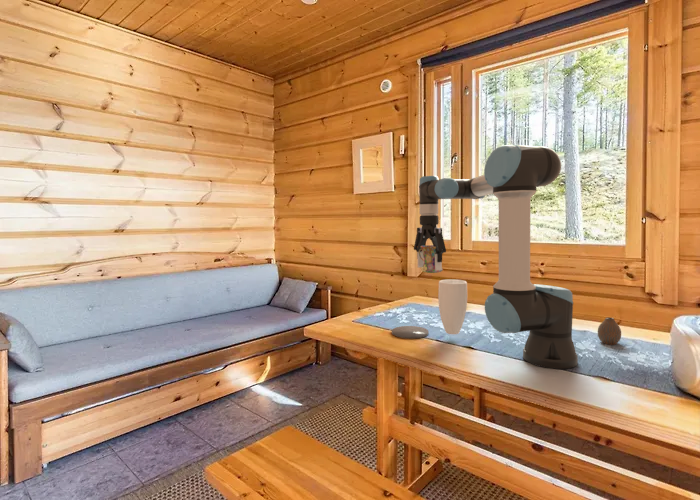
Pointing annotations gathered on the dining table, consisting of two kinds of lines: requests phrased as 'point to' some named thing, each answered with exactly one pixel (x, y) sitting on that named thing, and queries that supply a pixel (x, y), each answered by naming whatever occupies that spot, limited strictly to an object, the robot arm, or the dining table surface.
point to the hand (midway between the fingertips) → (429, 268)
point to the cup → (452, 304)
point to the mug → (428, 258)
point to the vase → (609, 331)
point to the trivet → (410, 332)
